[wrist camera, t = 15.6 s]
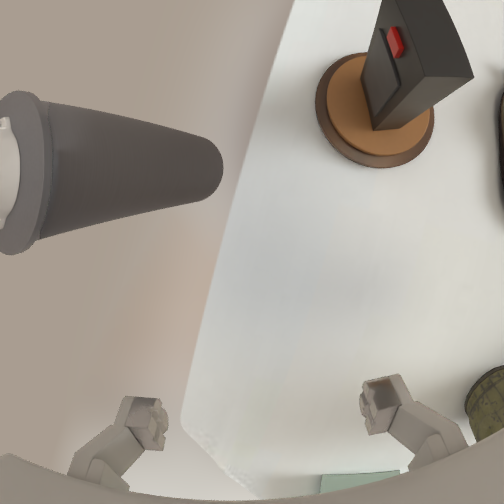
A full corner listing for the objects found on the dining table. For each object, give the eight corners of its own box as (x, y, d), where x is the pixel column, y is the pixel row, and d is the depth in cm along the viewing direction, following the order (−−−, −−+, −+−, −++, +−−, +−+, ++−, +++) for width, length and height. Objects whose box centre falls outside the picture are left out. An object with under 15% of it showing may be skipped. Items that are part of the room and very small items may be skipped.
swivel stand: (307, 154, 26) (306, 153, 25) (323, 46, 23) (322, 42, 22) (423, 181, 23) (426, 181, 22) (433, 73, 20) (437, 70, 19)
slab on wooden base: (434, 152, 21) (539, 130, 7) (338, 162, 24) (355, 136, 10) (410, 58, 20) (471, -35, 5) (316, 66, 22) (298, -43, 8)
